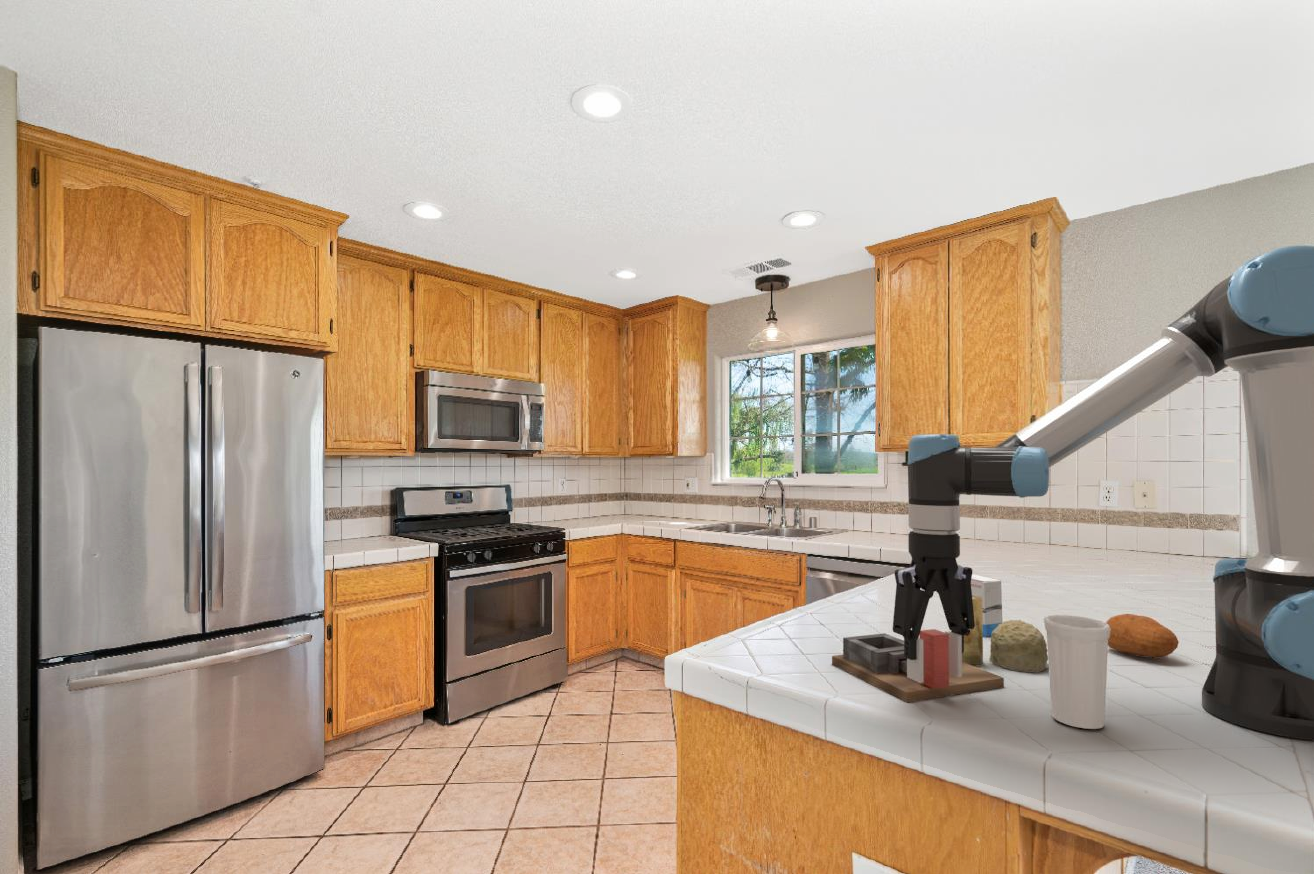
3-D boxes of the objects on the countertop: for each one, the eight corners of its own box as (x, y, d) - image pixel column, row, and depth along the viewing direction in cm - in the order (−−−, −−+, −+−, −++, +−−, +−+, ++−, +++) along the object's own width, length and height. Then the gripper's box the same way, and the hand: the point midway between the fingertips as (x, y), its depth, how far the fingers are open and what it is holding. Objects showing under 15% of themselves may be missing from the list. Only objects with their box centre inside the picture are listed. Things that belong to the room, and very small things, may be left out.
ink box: (1004, 635, 135) (1003, 580, 136) (985, 637, 134) (984, 581, 134) (972, 625, 143) (972, 573, 144) (954, 627, 142) (954, 574, 142)
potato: (1130, 645, 129) (1130, 608, 129) (1190, 663, 118) (1190, 622, 118) (1095, 649, 126) (1095, 611, 126) (1153, 667, 115) (1153, 625, 116)
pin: (949, 686, 100) (948, 633, 100) (933, 688, 99) (933, 635, 99) (903, 666, 109) (903, 618, 109) (889, 668, 108) (889, 619, 108)
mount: (1003, 686, 105) (1003, 656, 105) (906, 702, 98) (906, 669, 98) (919, 653, 123) (919, 627, 123) (832, 664, 116) (832, 636, 116)
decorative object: (1040, 695, 111) (1072, 647, 111) (988, 659, 113) (1019, 613, 113) (1018, 681, 120) (1047, 638, 120) (970, 649, 122) (999, 606, 122)
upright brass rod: (988, 664, 116) (987, 598, 116) (971, 667, 115) (970, 600, 115) (970, 658, 120) (969, 593, 120) (953, 660, 118) (953, 595, 119)
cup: (1031, 711, 95) (1030, 614, 95) (1083, 710, 95) (1082, 614, 96) (1070, 735, 87) (1069, 629, 87) (1127, 734, 87) (1125, 628, 88)
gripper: (963, 526, 108) (964, 663, 107) (866, 530, 101) (867, 676, 101) (1000, 531, 101) (1002, 677, 100) (899, 536, 94) (900, 692, 94)
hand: (934, 676), depth 101 cm, fingers open, 7 cm apart
